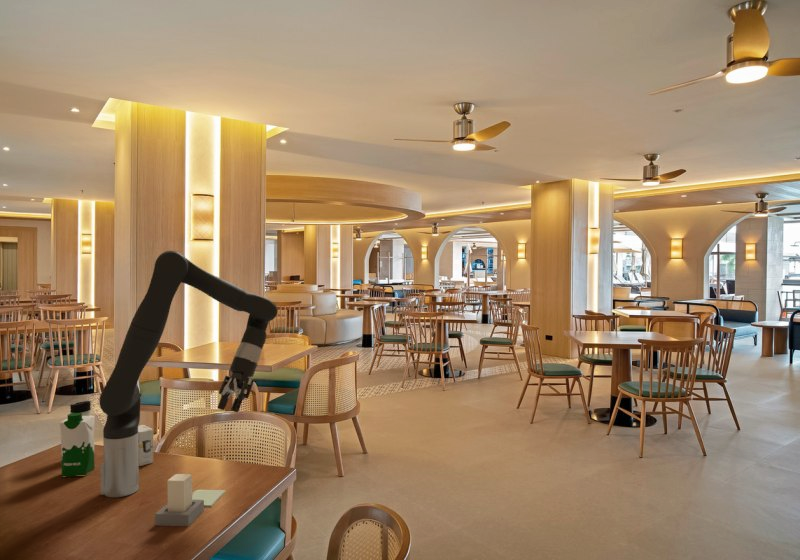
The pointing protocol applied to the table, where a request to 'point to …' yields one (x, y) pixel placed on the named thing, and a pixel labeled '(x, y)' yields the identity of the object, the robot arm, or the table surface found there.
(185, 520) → the grey square frame
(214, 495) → the mat
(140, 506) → the table surface
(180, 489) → the cream carton
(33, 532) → the table surface
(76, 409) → the travel mug
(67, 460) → the milk carton
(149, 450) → the ink box
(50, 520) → the table surface
